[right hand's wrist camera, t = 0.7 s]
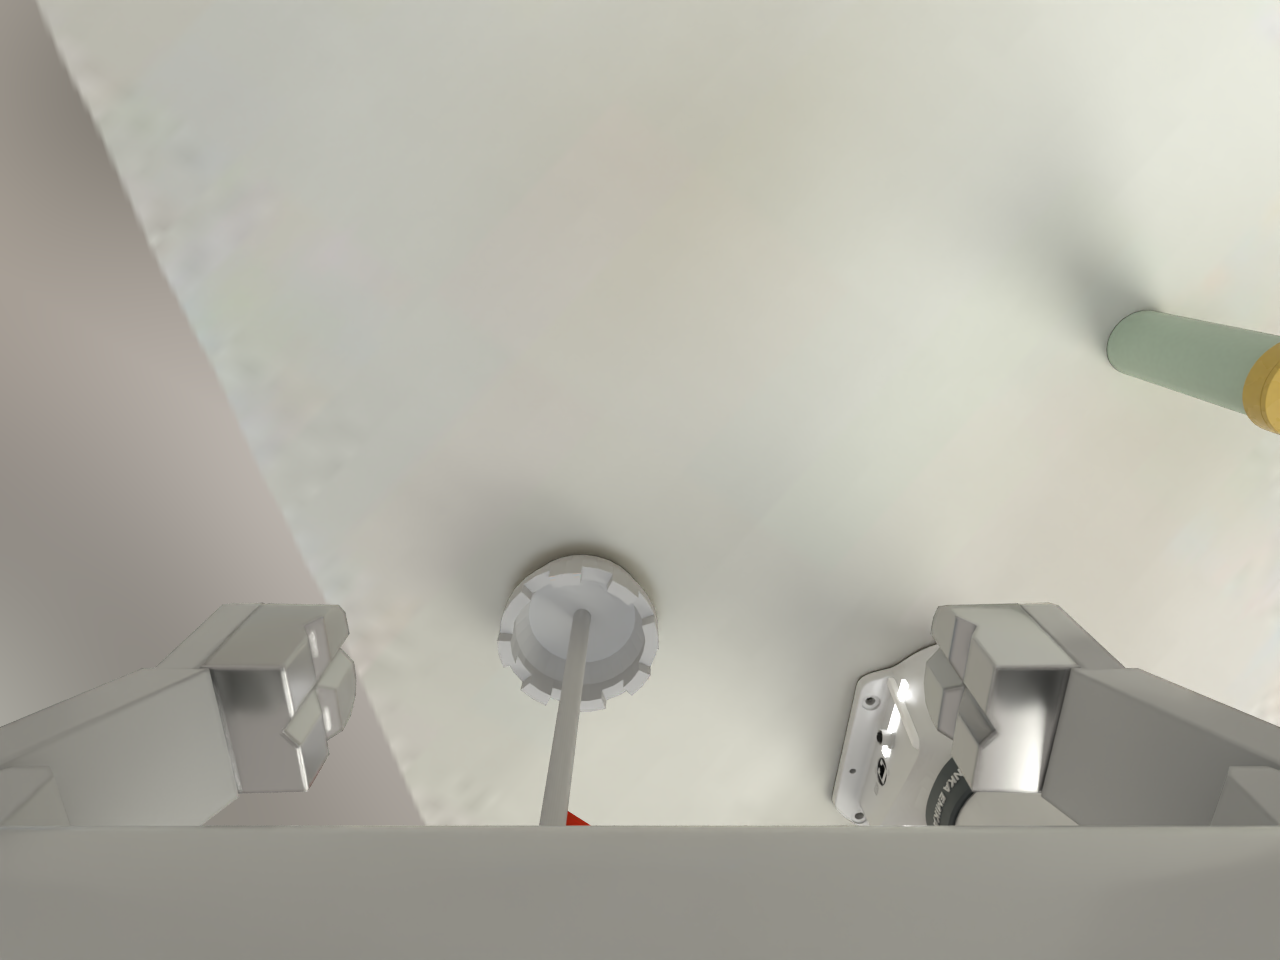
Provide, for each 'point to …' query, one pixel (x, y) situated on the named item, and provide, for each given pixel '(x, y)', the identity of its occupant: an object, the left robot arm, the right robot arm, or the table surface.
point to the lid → (1264, 391)
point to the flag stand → (576, 652)
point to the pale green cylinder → (1188, 355)
